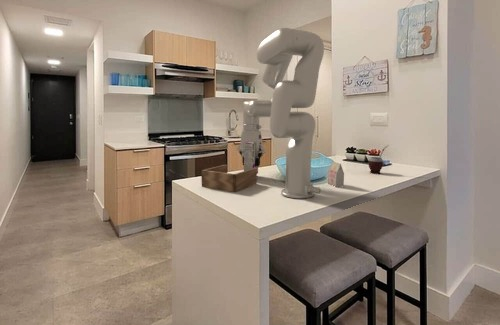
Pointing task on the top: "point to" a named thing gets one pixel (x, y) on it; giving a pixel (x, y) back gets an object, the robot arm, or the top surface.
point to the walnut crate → (228, 179)
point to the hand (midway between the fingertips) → (251, 165)
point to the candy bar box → (249, 156)
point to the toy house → (336, 175)
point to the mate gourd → (376, 163)
